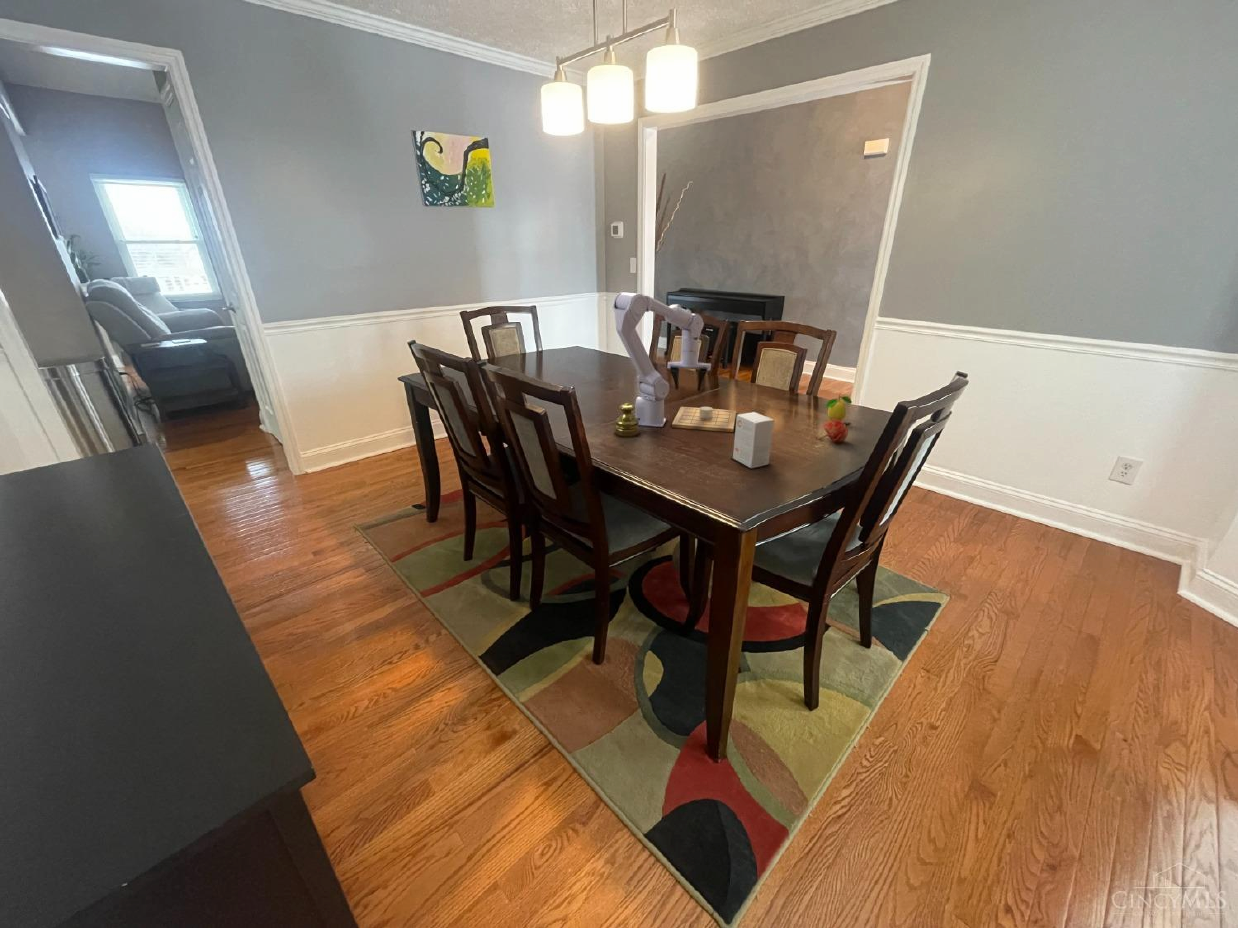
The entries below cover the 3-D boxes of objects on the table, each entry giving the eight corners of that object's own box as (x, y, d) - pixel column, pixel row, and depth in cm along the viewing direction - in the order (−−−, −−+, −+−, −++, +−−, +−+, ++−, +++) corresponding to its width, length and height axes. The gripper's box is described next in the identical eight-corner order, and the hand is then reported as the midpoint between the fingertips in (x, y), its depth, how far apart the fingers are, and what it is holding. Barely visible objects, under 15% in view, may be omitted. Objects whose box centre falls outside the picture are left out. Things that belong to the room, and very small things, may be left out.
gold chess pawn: (612, 431, 160) (611, 401, 156) (632, 428, 163) (632, 399, 159) (621, 438, 154) (621, 408, 150) (642, 435, 157) (643, 404, 153)
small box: (769, 464, 134) (774, 419, 129) (750, 469, 132) (755, 423, 127) (749, 454, 141) (754, 411, 136) (732, 458, 139) (736, 414, 133)
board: (671, 427, 163) (671, 423, 163) (680, 409, 181) (680, 406, 180) (733, 432, 158) (733, 428, 158) (736, 413, 176) (736, 410, 175)
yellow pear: (848, 422, 166) (853, 393, 162) (842, 426, 162) (848, 397, 158) (828, 418, 170) (833, 390, 166) (822, 422, 166) (827, 394, 162)
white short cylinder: (698, 418, 168) (698, 409, 166) (699, 414, 171) (700, 406, 170) (711, 419, 167) (712, 410, 165) (712, 415, 170) (713, 407, 169)
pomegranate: (822, 451, 149) (854, 437, 143) (810, 430, 149) (841, 415, 143) (827, 446, 155) (858, 432, 148) (816, 426, 155) (846, 411, 149)
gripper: (712, 349, 167) (710, 387, 173) (670, 347, 171) (669, 385, 176) (710, 353, 161) (707, 393, 167) (667, 351, 165) (665, 390, 170)
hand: (687, 389), depth 171 cm, fingers open, 7 cm apart
